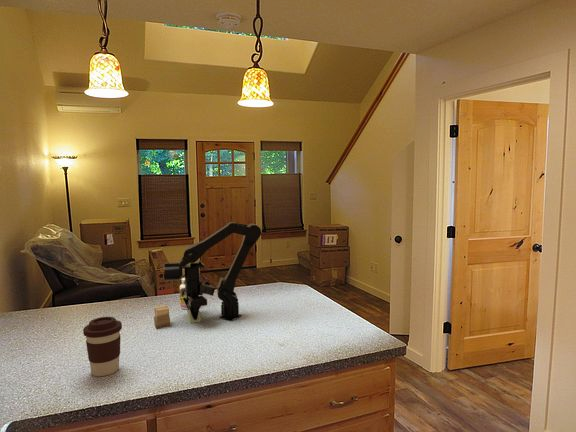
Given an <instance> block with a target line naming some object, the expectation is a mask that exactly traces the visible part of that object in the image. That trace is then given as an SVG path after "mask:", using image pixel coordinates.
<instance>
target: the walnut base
mask: <svg viewBox="0 0 576 432" xmlns="http://www.w3.org/2000/svg"><path fill="white" fill-rule="evenodd" d="M153 320H154V321H153V323H154V327H155V329H156V330H159V329H164V328H170V327H171V317H170V316H169V318H165V319H159V320H157V319H156V317H155V315H154V316H153Z"/></svg>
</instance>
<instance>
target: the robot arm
mask: <svg viewBox="0 0 576 432" xmlns="http://www.w3.org/2000/svg"><path fill="white" fill-rule="evenodd" d="M232 234H238V235H242V242H241V245H240V246H239V248H238V251H237V252H236V255H235V257H234V259H233V261H232V263H231V266H230V268H229V270H228V272H227V274H226V275H225V276H224V277H222V276H221V277H219V281H218V283H217V284H216V287H215V286H213V285H212V284H210V281H208V280H204V281H203V282H202V281H201V272H200V271H201V269H200V268H202V269H203V268H205V263H203V262H202V260H199V259H200V258H201V257H203V256H204V254H206V252H207V251H209V249H211V248H213V247H214V246H215V245H217V244H218V243H220V242H221V241H223V240H225V239H226V238H228V237H229V236H230V235H232ZM261 235H262V229H261V227H260V226H259V225H257V224H255V223H248V224H244V223H238V222H233V221H230V222H228V223H227V224H226V225H225V226H223V227H221V228H220V229H218V230H217V231H215V232H213V233H212V234H211V235H209V236H208V237H206V238H204V239H203V240H201V241H198V242H195V243H193V244H191V245H188V246H187V247H186V248H185V249H184V252H183V257H181V258H180V260H179V262H178V261H177V262H165V263H164V272H163V279H164V281H165V282H167V281H180V280H181V279H182V278H185V281H184V284H185V288H182V289H181V291H180V290H179V296H180V295H181V296H182V297H183V296H184V295H185V298H183V300H184V302H185V304H186V306H187V309H188V310H190V312H191V314H192V317H193V319H194V320H197V317H198V313H199V311H200V309H201V307H204V306H205V307H206V306H207V305H208V300H207V298H206V297H205V296H203V295H209V296H210V297H212V296H213V297H214V294H215V290H216V293H217V298H218V299H219V300H220V301H221V305H220V312H221V315H220V316H219V318H218V319H223V320H225V321H230V322H231V321H234V320H236V319H238V318H240V317H242V314H241V313H240V312H239V311H240V308H239V307H240V305H239V299H238V295H237V293H236V292H235V291H234V290H235V286H236V281H237V280H238V279H237V278H238V276H239V274H240V272H241V270H242V268H243V265H244V264H245V262H246V259H247V257H248V255H249V253H250V250H251V249H252V248H253V247H254V245H255V244H256V243H257V241H258V240H259V238H261ZM197 261H198V262H197Z"/></svg>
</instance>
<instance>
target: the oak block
mask: <svg viewBox="0 0 576 432" xmlns="http://www.w3.org/2000/svg"><path fill="white" fill-rule="evenodd" d="M153 309H154V316H155V317H156V319H157V320H159V319H165V318H169V317H170V308H169V307H168V305H167V304H166V305H160V306H155V307H154V308H153Z"/></svg>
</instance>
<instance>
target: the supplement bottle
mask: <svg viewBox="0 0 576 432" xmlns="http://www.w3.org/2000/svg"><path fill="white" fill-rule="evenodd" d="M184 281H185V277H181V284H180V285H179V292H180V291H181V289H182V288H185V284H184ZM183 298H185V295H184V296H183V297H182V296H181V295H180V294H179V307H180V309H182V310H186V311H187V310H188V309H187V306H186V304H185V302H184V300H183Z"/></svg>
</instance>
